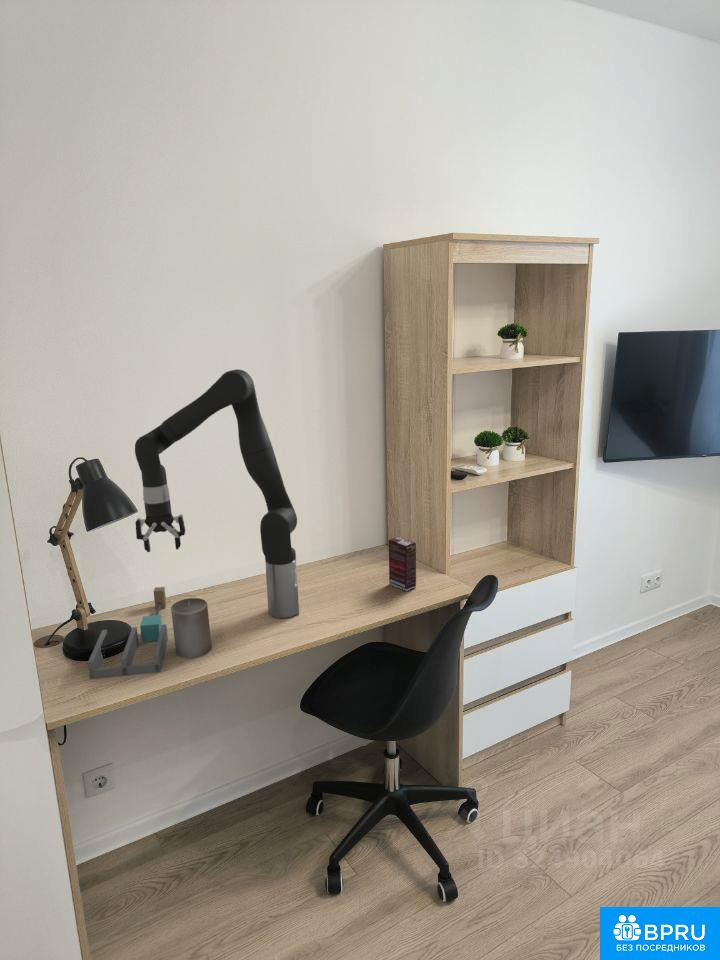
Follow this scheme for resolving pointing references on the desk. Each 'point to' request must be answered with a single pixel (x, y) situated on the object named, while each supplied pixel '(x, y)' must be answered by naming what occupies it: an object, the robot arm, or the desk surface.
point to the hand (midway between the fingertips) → (163, 550)
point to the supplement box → (402, 563)
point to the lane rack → (127, 657)
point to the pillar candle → (191, 628)
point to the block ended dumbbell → (153, 618)
